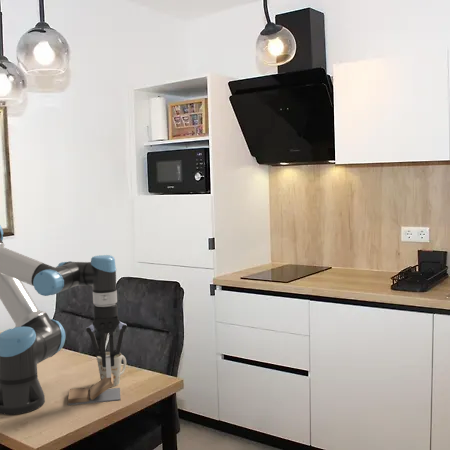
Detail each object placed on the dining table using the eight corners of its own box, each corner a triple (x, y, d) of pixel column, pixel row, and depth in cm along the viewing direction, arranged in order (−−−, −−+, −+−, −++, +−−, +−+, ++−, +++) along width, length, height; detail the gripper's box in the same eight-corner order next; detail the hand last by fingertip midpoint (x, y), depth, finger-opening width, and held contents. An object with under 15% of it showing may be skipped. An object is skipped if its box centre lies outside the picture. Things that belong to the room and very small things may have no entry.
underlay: (68, 405, 180) (68, 404, 180) (70, 393, 190) (70, 392, 189) (120, 400, 183) (120, 398, 183) (120, 388, 193) (119, 387, 193)
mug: (92, 386, 196) (91, 357, 195) (116, 374, 207) (115, 346, 206) (112, 389, 192) (111, 360, 191) (135, 377, 203) (134, 349, 202)
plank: (92, 400, 182) (89, 397, 181) (92, 389, 190) (90, 386, 190) (113, 385, 182) (111, 381, 182) (113, 375, 191) (111, 372, 191)
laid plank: (68, 403, 180) (68, 399, 180) (70, 392, 189) (70, 389, 189) (89, 401, 181) (88, 397, 181) (90, 391, 190) (89, 387, 190)
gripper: (83, 308, 179) (87, 382, 181) (126, 305, 182) (129, 378, 184) (84, 303, 187) (88, 374, 189) (125, 300, 189) (129, 370, 191)
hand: (108, 376), depth 186 cm, fingers closed
